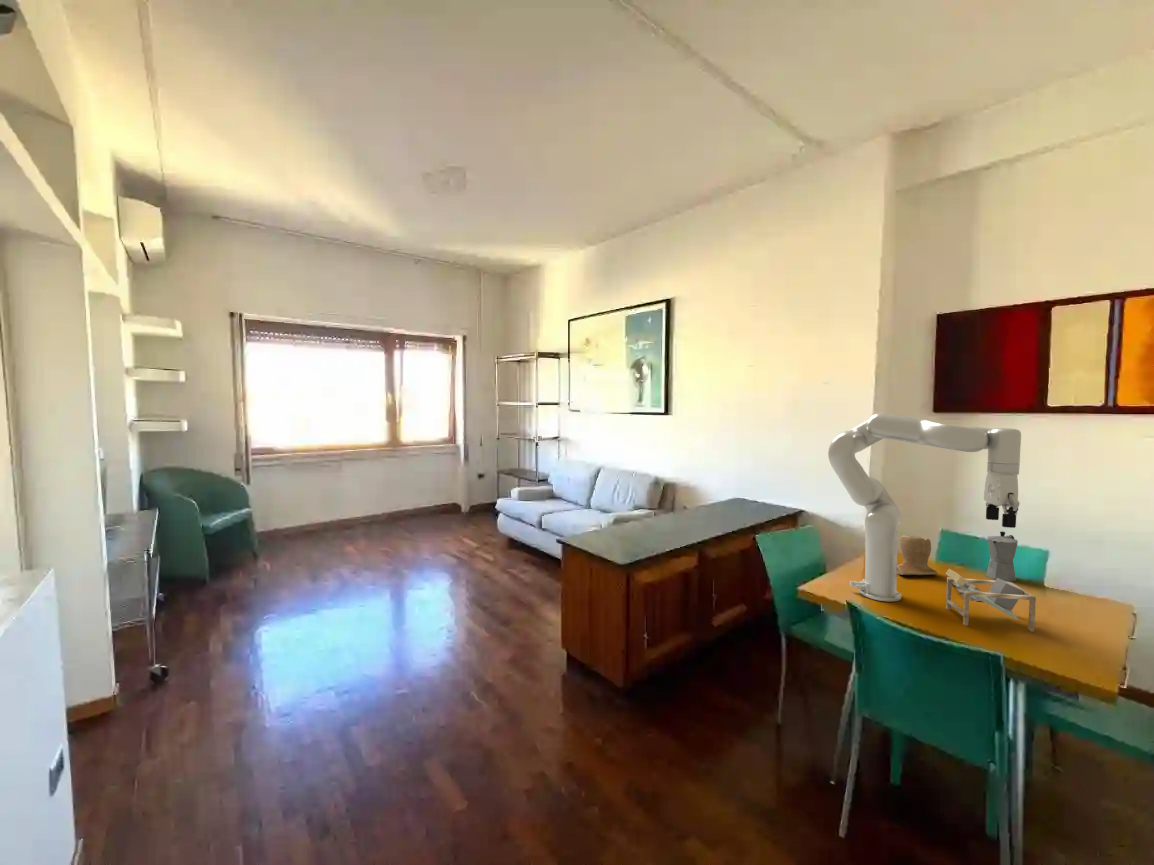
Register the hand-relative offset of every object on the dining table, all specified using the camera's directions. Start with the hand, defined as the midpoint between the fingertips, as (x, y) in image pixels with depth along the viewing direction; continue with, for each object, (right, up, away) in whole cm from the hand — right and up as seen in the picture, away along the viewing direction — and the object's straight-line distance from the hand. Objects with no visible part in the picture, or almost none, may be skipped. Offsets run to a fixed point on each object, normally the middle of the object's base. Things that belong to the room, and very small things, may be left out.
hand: (1000, 523), depth 155 cm
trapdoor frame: (-3, -30, +2) cm, 31 cm away
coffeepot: (+33, -28, +38) cm, 57 cm away
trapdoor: (-5, -23, +2) cm, 24 cm away
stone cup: (+2, -28, +44) cm, 52 cm away
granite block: (0, -25, +1) cm, 25 cm away
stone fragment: (+10, -30, +27) cm, 41 cm away
